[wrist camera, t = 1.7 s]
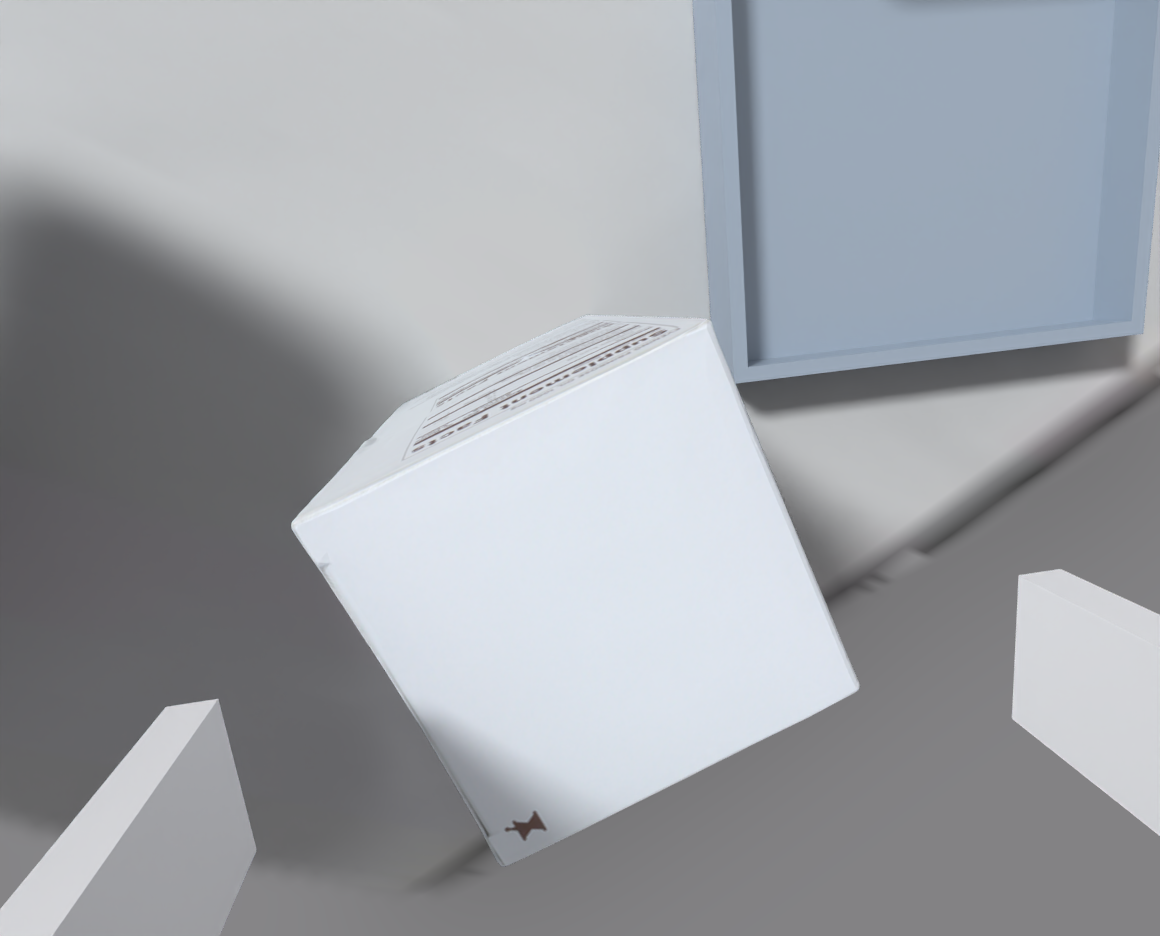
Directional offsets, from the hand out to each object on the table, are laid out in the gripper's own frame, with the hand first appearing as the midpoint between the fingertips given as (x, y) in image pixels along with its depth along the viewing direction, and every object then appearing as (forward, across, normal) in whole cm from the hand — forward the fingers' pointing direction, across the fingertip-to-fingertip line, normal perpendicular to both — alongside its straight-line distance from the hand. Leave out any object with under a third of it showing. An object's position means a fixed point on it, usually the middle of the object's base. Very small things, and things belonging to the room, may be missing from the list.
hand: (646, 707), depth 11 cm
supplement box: (+20, 0, 0) cm, 20 cm away
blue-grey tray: (+20, +17, +15) cm, 30 cm away
